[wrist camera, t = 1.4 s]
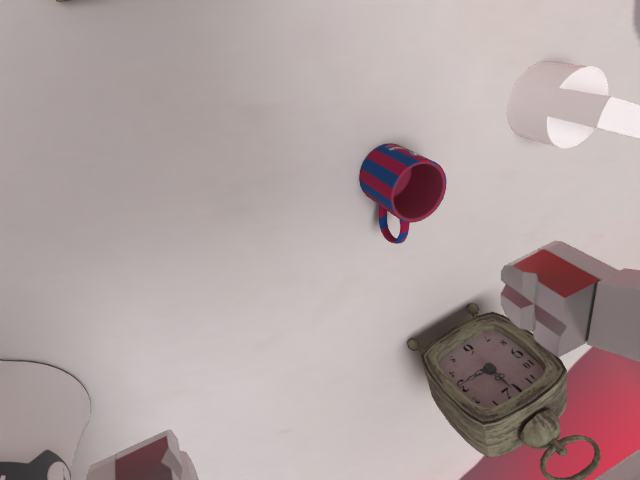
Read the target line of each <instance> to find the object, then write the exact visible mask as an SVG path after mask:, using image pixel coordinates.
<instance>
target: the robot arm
mask: <svg viewBox="0 0 640 480" xmlns="http://www.w3.org/2000/svg"><path fill="white" fill-rule="evenodd" d="M501 280H502V281H503V282H504V283H505V284H506V285H505V287H504V289H503V291H502V292H501V305H502V308H503V310H504V312H505V314H506V316H507V317H508V318H509V319H510V320H511V322H513V323H514V324H515V325H516V326H518V327H519V328H520V329H525V330H529V331H532V332H533V336H534V339H535V341H537V342H538V343H539V344H541V345H542V346H543V347H545V348H546V349H547V350H548V351H550V352H551V353H552V354H554V355H555V356H556V357H560V356H562V355H564V354H566V353H568V352H570V351H572V350H574V349H576V348H577V347H579V346H581V345H583V344H585V343H587V342H588V343H587V345H590V346H594V347H597V348H600V349H603V350H606V351H609V352H612V353H615V354H618V355H621V356H624V357H627V358H630V359H633V360H637V361H639V362H640V270H633V269H626V268H624V269H622V270H620V271H619V270H617V269H615V268H613V267H611V266H609V265H607V264H605V263H603V262H601V261H599V260H597V259H595V258H593V257H591V256H589V255H587V254H585V253H584V252H582V251H580V250H578V249H576V248H574V247H572V246H570V245H568V244H566V243H564V242H561V241H553V242H551V243H549V244H547V245H545V246H543V247H541V248H539V249H538V250H535V251H533V252H531V253H529V254H527V255H525V256H523V257H521V258H519V259H517V260H515V261H513V262H511V263H509V264H507V265H505V266H504V267H503V269H502V271H501ZM90 413H91V404H90V399H89V396H88V394H87V392H86V390H85V389H84V387H83V386H82V385H81V384H80V383H79V382H78V381H77V380H76V379H75V378H73V377H72V376H71V375H69V374H67V373H65V372H64V371H61V370H59V369H57V368H54V367H51V366H48V365H43V364H39V363H32V362H17V361H0V480H71V473H70V472H71V467H72V463H73V459H74V456H75V452H76V449H77V446H78V443H79V440H80V438H81V436H82V433H83V431H84V429H85V427H86V425H87V423H88V421H89V417H90ZM87 480H199V479H198V476H197V473H196V470H195V467H194V465H193V463H192V461H191V459H190V457H189V456H188V454H187V453H186V452H184V451H180V449H179V443H178V439H177V437H176V436H175V435H174V433H173V432H172V430H166V431H164V432H162V433H160V434H158V435H155V436H153V437H151V438H149V439H147V440H144V441H142V442H140V443H138V444H136V445H134V446H131V447H129V448H127V449H125V450H123V451H120V452H118V453H117V454H115V455H113V456H111V457H108V458H106V459H104V460H102V461H100V462H98V463H95V464H93V465H91V466H90V469H89V471H88V474H87ZM594 480H640V449H639V450H638V451H636V452H635V453H633V454H632V455H630V456H629V457H627V458H626V459H624V460H623V461H621V462H620V463H618V464H617V465H615V466H614V467H612V468H611V469H609V470H608V471H606V472H605V473H603V474H602V475H600V476H599V477H597V478H596V479H594Z"/></svg>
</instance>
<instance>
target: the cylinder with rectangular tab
mask: <svg viewBox="0 0 640 480" xmlns="http://www.w3.org/2000/svg"><path fill="white" fill-rule="evenodd" d="M507 118H508V123H509V125H510V127H511V129H512V130H513V131H514V132H515V133H516V134H517V135H520V136H522V137H525V138H529V139H532V140H535V141H539V142H542V143H545V144H549V145H552V146H555V147H559V148H570V147H573V146H576V145H578V144H579V143H581V142H582V141H584V140H585V139H586V138H587V137H588V136H589V135H590V134H591V133H592V132H593V130H594V129H595V128H597V129H601V130H606V131H610V132H614V133H618V134H623V135H627V136H631V137H635V138H640V105H637V104H634V103H630V102H627V101H624V100H621V99H617V98H614V97H611V96H608V83H607V79H606V76H605V75H604V73H603V72H602V71H601V70H600V69H598V68H597V67H591V66H582V65H573V64H563V63H554V62H545V61H543V62H540V63H536V64H534V65H533V66H531V67H529V68H528V69H527V70H526V71H525V72H524V73H523V74H522V75H521V76H520V77H519V79H518V80H517V82H516V83H515V85H514V87H513V89H512V91H511V93H510V97H509V100H508V105H507Z"/></svg>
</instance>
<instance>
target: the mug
mask: <svg viewBox="0 0 640 480" xmlns="http://www.w3.org/2000/svg"><path fill="white" fill-rule="evenodd" d="M360 184H361V188H362V190H363V191H364V193H365V194H366V195H367V196H368V197H369V198H371V199H372V200H374V201H375V202H376V203H378V204H379V205H380V206H379V224H380V228H381V232H382V234H383V236H384V237H385V238H386V239H387V240H388V241H389V242H391V243H396V244H397V243H402V242H404V241H405V239H406V237H407V235H408V230H409V222H417V221H421V220H423V219H425V218H426V217H428V216H429V215H431V214H432V213H433V212H434V211H435V210H436V209H437V207H438V206H439V205H440V203H441V201H442V199H443V197H444V194H445V190H446V176H445V173H444V171H443V169H442V168H441V166H440V165H438V164H437V163H436V162H434V161H431V160H429V159H427V158H425V157H423V156H421V155H418V154H416V153H414V152H412V151H410V150H408V149H405V148H403V147H401V146H399V145H396V144H385V145H382V146H379V147H378V148H376V149H374V150H373V151H372V152H371V153H370V154H369V155H368V156H367V158H366V159H365V161H364V163H363V165H362V167H361V171H360ZM387 211H389V212H390V213H392V214H393V215H394V216H396V217H397V218H399V219H400V234H399V236H398V238H397V239H396V238H395V237H393V236H392V234H391V233H390V231H389V229H388V225H387Z"/></svg>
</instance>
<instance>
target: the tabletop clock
mask: <svg viewBox="0 0 640 480" xmlns="http://www.w3.org/2000/svg"><path fill="white" fill-rule="evenodd" d="M467 310H468V313H469V314H471V315H473V319H471V320H469V321H467V322H465V323H463V324H461V325H459V326H457V327H455V328H453V329H452V330H450V331H449V332H447V333H446V334H444V335H443V336H442V337H440V338H439V339H437V340H436V341H434V342H433V343H432V344H430V345H429V346H428V347H427V348H426V349H423V348H421V347H420V346H419V343H418V341H417V340H415V339H411V340H410V341H409V342H408V347H409V349H410V350H413V351H415V350H419V351H420V352H421V353H422V355H421V357H422V361H423V365H424V369H425V372H426V376H427V380H428V383H429V387H430V390H431V394H432V397H433V399H434V401H435V403H436V404H437V406H438V408H439V409H440V410H441V412H442V413H443V415H444V416H445V418H446V419H447V420H448V422H449V423H450V425H451V426H452V427H453V428H454V429H455V430H456V431H457V432H458V433H459V434H460V435H461V436H462V437H463V438H464V439H465V440H466V441H467V442H468V443H469V444H470V445H471V446H472V447H473V448H475V449H476V450H477V451H479V452H480V453H482V454H484V455H486V456H487V457H496V456H501V455H504V454H507V453H509V452H511V451H512V450H515V449H516V448H518V447H520V446H522V445H523V444H525V445H527V446H529V447H532V448H536V449H546V448H548V447H549V448H548V449H547V450H546V451H545V452H544V454H543V456H542V458H541V463H540V468H541V471H542V473H543V474H544V476H545V477H546V478H547V479H549V480H583V479H585V478H586V477H587V476H589V475H590V474H592V472H593V471H594V470H595V469H596V468H597V467H598V465H599V462H600V458H601V457H600V450H599V447H598V445H597V444H596V443H595V441H593V440H592V439H591V438H588V437H586V436H581V435H573V436H569V437H565V438H563V439H561V440H557V439H558V438H559V436H560V423H559V420H558V419H559V417H560V416H561V415H562V414H563V411H564V410H565V407H566V401H567V400H566V398H567V397H566V396H567V393H566V392H567V370H566V368H565V366H564V365H563V363H562V361H561V360H560V359H559V358H558V357H556V356H555V355H554V354H552V353H551V352H550V351H548V350H547V349H546V348H545V347H543V346H542V345H541V344H539V343H538V342H537V341H535V339H534V336H533V333H531V332H530V331H528V330H525V329H520V328H519V327H518V326H516V325H515V324H514V323H513V322H511V320H510V319H509V318H507V317H505V316H503V315H500V314H497V313H494V312H491V313H486V314H482V315H479V316H477V315H476V314H477V313H478V311H479V308H478V306H477V305H475V304H470V305H469V306H468V308H467ZM577 440H586V441H588V442H589V443H591V444H592V445H593V447H594V451H595V453H594V458H593V460H592V462H591V463H590V464H589V465H588V466H587V467H586V468H585V469H583V470H582V471H581V472H579V473H577V474H575V475H574V476H571V477H567V478H557V477H553V476H551V475H549V474H548V473H547V472H546V470H545V465H546V462H547V460H548V459H549V457H550V456H551V455H552V454H553V453H555V452H557V453H558V454H559V455H561V456H564V455H566V454H567V449H566V448H565V447H564V446H565V445H566V444H568V443H570V442H574V441H577Z"/></svg>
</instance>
